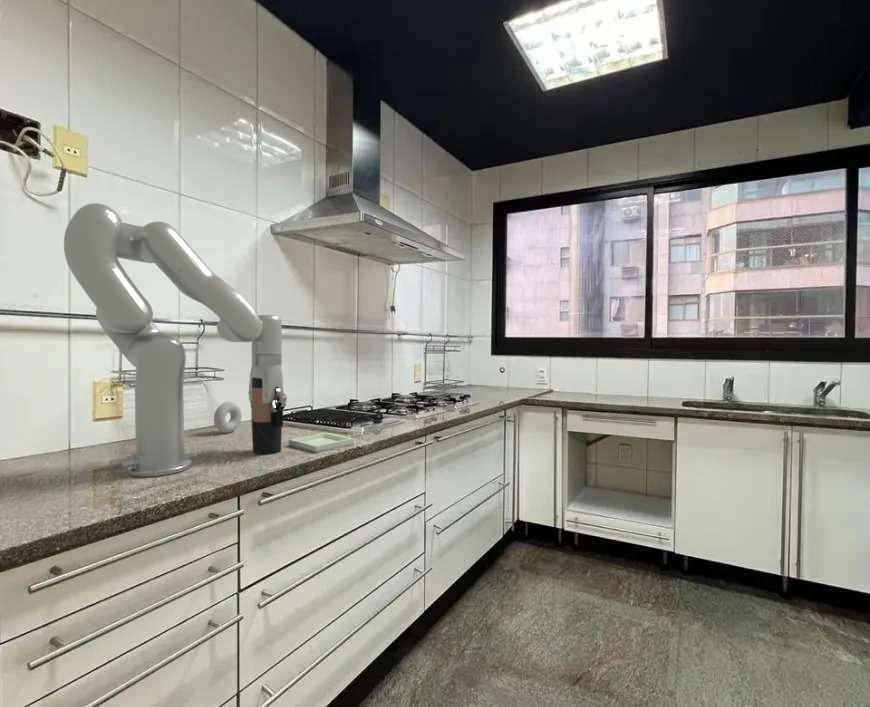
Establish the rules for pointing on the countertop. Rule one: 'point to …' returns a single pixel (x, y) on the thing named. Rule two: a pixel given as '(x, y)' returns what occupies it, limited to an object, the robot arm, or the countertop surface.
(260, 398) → the travel mug
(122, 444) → the countertop surface
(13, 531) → the countertop surface
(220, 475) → the countertop surface
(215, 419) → the donut
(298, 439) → the tray
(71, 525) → the countertop surface
